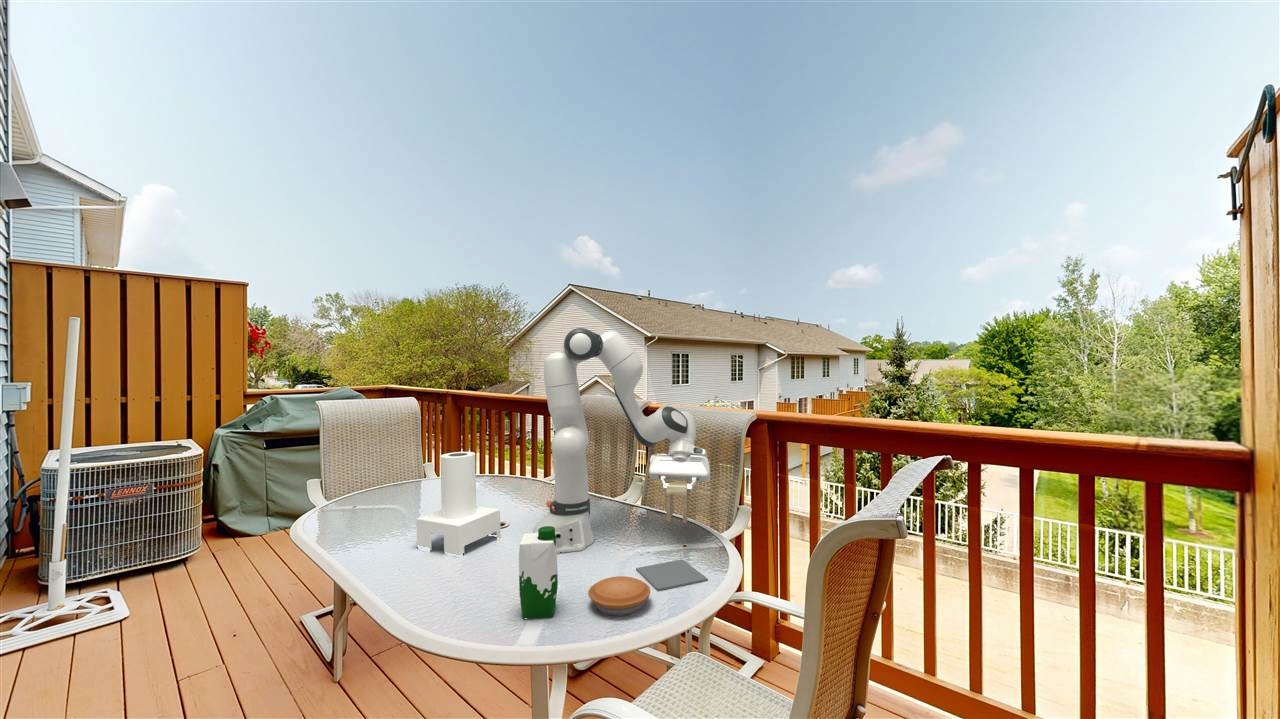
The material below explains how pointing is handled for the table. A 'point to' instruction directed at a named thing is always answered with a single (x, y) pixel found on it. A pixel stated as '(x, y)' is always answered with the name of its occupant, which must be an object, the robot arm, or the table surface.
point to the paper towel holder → (458, 508)
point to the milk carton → (538, 573)
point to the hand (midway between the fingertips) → (677, 490)
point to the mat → (671, 575)
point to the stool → (677, 489)
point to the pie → (619, 595)
